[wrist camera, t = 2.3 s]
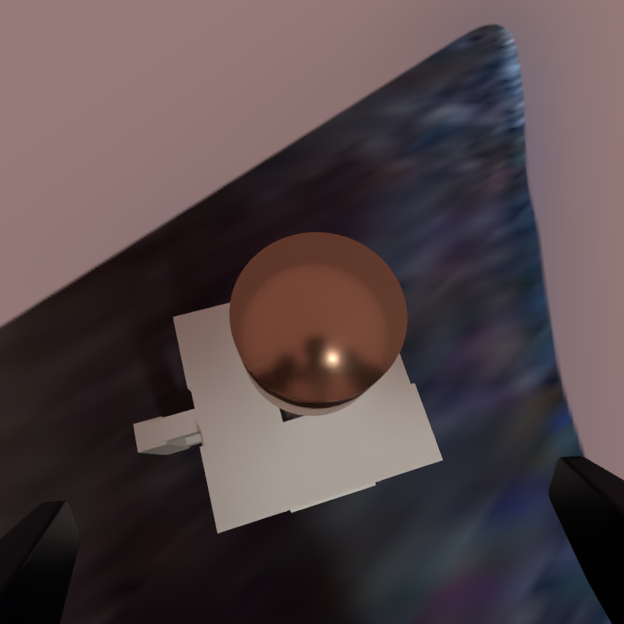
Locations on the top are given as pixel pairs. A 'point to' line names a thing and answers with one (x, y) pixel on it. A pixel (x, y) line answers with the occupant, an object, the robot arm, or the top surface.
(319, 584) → the top surface
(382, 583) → the top surface
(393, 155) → the top surface
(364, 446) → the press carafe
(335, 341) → the plunger
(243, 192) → the top surface
